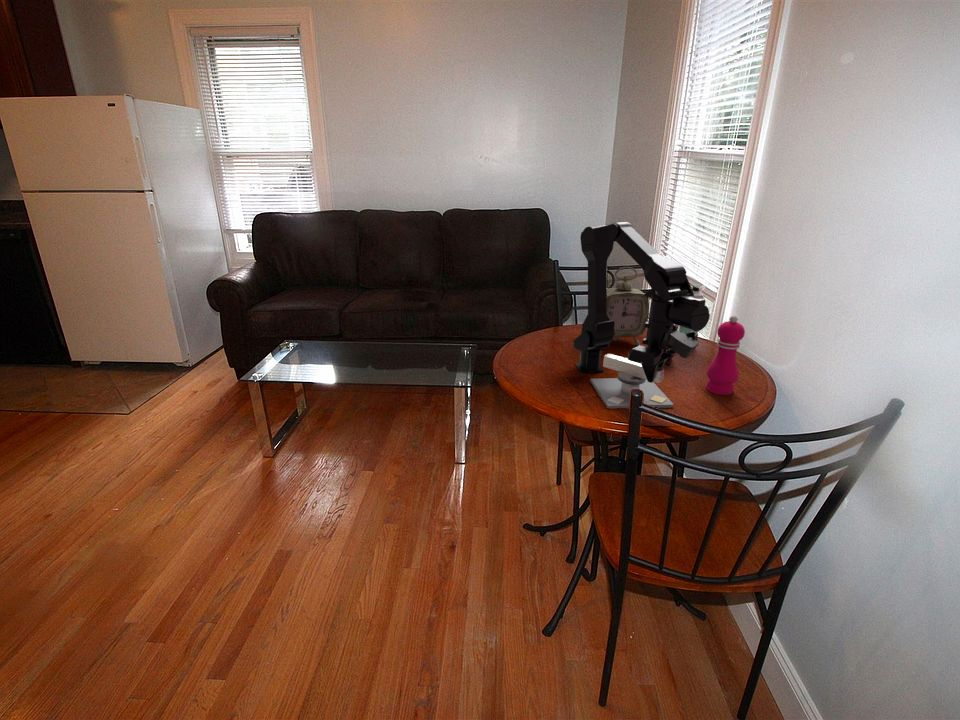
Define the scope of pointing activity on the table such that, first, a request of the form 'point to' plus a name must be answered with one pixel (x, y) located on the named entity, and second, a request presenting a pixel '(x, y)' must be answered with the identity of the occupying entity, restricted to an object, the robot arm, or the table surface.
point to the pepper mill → (725, 358)
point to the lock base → (615, 391)
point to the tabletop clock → (627, 308)
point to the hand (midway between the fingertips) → (652, 380)
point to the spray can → (696, 295)
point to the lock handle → (630, 370)
